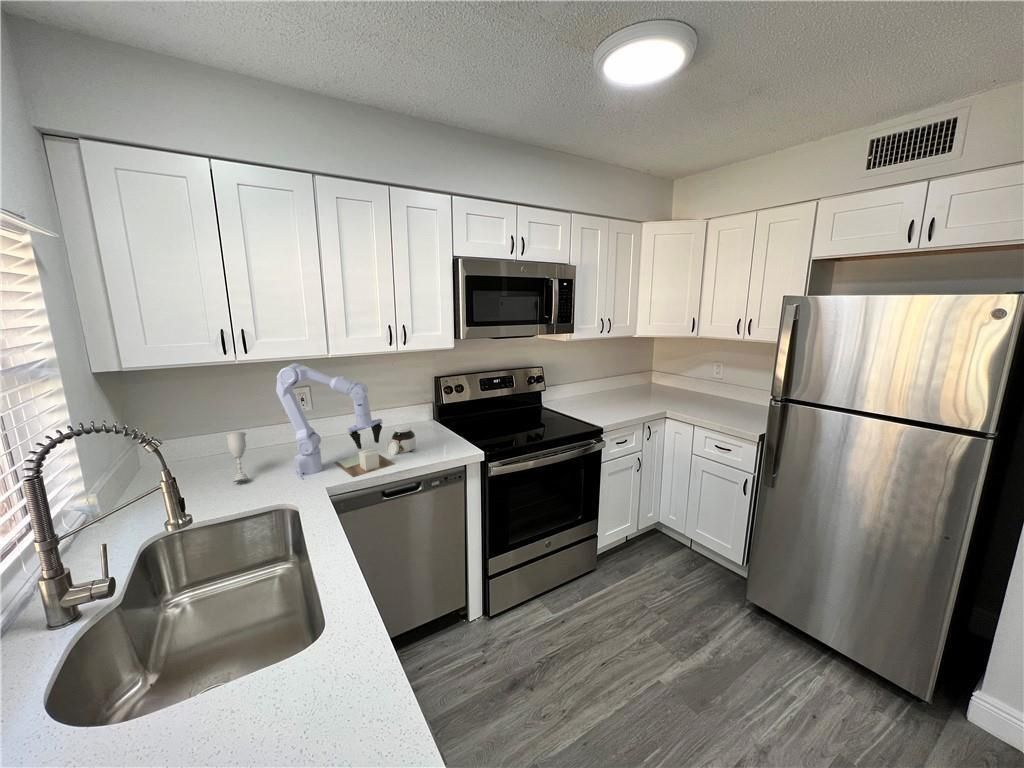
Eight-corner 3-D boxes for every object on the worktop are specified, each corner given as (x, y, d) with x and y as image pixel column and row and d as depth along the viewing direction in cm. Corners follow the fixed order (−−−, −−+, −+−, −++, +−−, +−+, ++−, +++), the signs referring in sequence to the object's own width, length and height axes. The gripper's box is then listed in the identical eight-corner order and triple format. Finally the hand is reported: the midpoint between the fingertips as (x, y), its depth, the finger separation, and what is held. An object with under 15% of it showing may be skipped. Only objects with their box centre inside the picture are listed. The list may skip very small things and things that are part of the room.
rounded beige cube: (366, 470, 166) (364, 455, 164) (360, 466, 170) (358, 451, 168) (379, 466, 170) (378, 451, 168) (373, 462, 174) (371, 448, 172)
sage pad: (346, 468, 169) (346, 467, 169) (337, 462, 175) (337, 461, 175) (367, 462, 175) (367, 461, 175) (358, 456, 181) (358, 455, 181)
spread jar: (418, 448, 192) (416, 424, 189) (409, 458, 181) (408, 432, 178) (393, 448, 193) (391, 424, 191) (383, 457, 182) (381, 432, 180)
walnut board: (353, 479, 160) (353, 477, 160) (333, 464, 175) (333, 462, 174) (396, 466, 172) (395, 463, 172) (374, 453, 187) (373, 451, 186)
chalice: (229, 484, 159) (224, 439, 163) (250, 480, 163) (245, 436, 167) (231, 480, 153) (225, 433, 158) (252, 476, 157) (246, 431, 162)
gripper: (350, 420, 158) (356, 453, 161) (384, 410, 168) (389, 441, 171) (341, 417, 162) (347, 449, 165) (375, 407, 173) (380, 438, 176)
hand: (368, 445), depth 168 cm, fingers open, 7 cm apart
